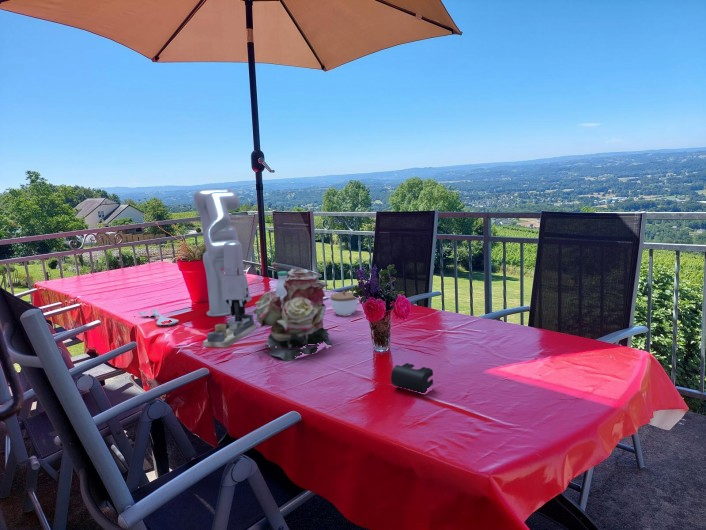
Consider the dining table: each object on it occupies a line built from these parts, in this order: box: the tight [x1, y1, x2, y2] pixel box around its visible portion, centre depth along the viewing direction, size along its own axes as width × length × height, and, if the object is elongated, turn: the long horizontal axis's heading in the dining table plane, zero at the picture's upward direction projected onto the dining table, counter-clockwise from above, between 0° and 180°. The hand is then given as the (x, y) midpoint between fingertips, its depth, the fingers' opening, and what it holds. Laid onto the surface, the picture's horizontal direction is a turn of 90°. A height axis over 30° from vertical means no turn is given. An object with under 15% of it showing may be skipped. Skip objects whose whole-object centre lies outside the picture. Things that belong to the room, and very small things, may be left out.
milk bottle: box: [275, 270, 288, 296], centre depth 217 cm, size 8×8×20 cm
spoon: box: [137, 307, 179, 326], centre depth 214 cm, size 9×32×4 cm, turn 43°
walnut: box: [214, 323, 227, 338], centre depth 177 cm, size 4×4×5 cm
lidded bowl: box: [330, 290, 359, 315], centre depth 210 cm, size 13×13×11 cm
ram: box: [227, 300, 250, 330], centre depth 189 cm, size 7×8×12 cm
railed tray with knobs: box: [202, 313, 257, 348], centre depth 184 cm, size 10×25×6 cm, turn 166°
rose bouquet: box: [252, 267, 332, 362], centre depth 165 cm, size 26×29×30 cm
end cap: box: [390, 362, 434, 393], centre depth 128 cm, size 10×7×7 cm
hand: (238, 314), depth 190 cm, fingers closed on ram, 3 cm apart
